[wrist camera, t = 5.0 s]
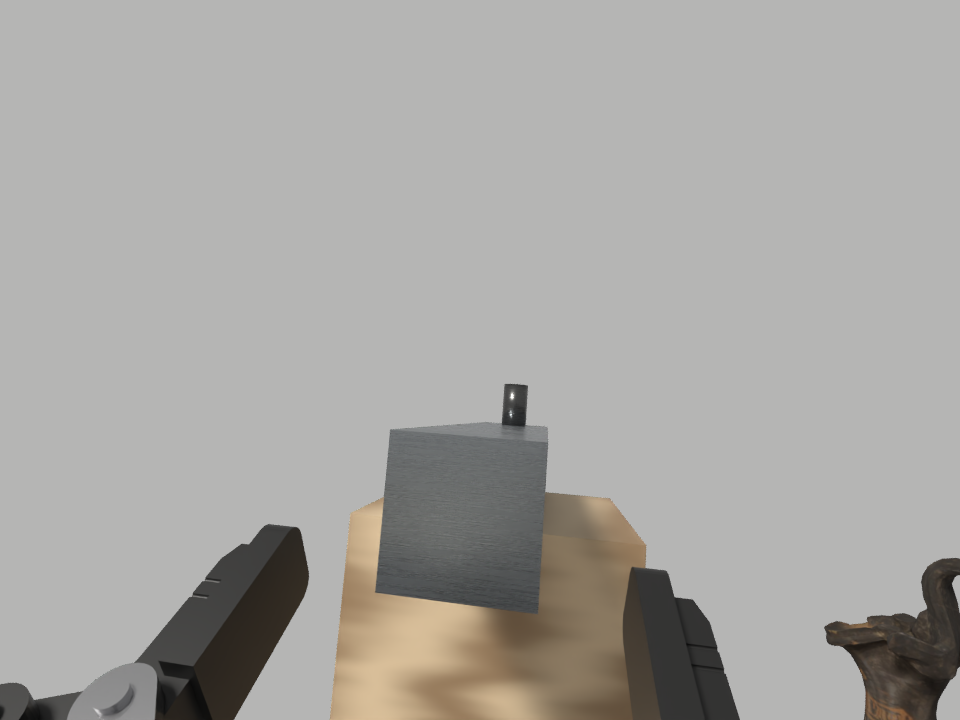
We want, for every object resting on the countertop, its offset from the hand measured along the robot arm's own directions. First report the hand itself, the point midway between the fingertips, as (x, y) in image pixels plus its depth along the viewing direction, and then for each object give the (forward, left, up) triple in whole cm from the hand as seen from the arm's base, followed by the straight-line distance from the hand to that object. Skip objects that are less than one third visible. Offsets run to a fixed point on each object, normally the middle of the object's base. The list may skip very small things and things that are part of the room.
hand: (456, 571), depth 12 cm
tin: (0, -10, -1) cm, 10 cm away
